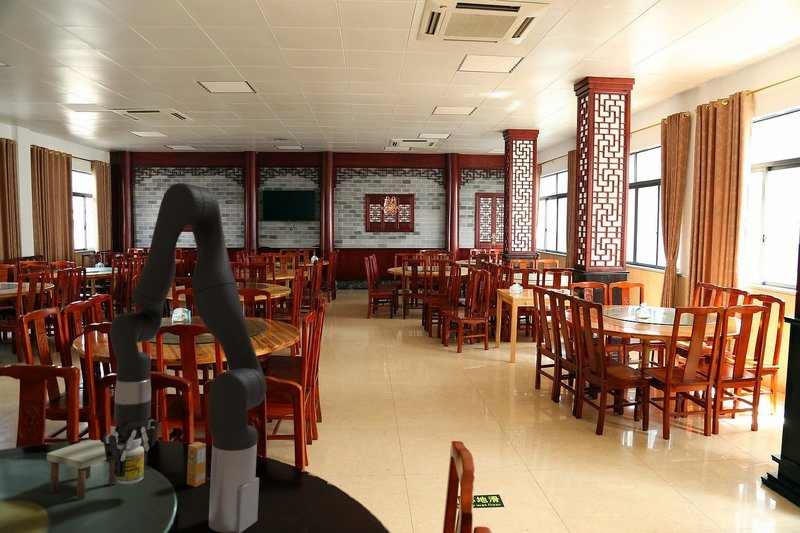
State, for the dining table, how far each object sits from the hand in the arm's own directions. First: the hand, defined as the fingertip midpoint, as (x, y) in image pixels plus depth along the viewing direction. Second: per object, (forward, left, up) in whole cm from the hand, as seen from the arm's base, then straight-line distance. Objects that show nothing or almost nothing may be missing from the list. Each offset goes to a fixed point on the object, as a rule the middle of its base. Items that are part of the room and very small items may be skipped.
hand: (130, 471), depth 125 cm
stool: (+14, +1, -6) cm, 15 cm away
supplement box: (-8, -13, -7) cm, 16 cm away
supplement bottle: (0, 0, -2) cm, 2 cm away
